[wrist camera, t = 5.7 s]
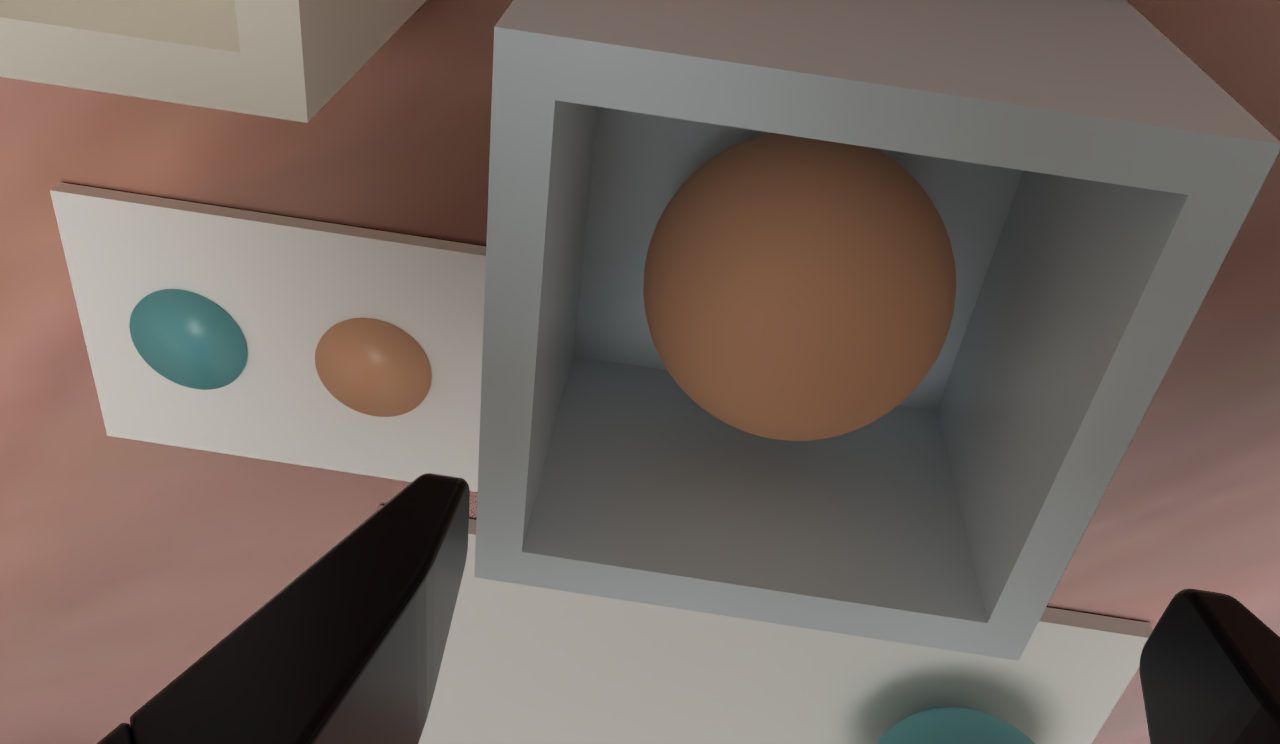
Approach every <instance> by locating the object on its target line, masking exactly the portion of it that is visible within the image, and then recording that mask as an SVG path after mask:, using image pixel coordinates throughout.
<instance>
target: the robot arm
mask: <svg viewBox="0 0 1280 744" xmlns="http://www.w3.org/2000/svg"><path fill="white" fill-rule="evenodd" d="M468 527H469V485H468V483H467V482H466V481H465V480H464V479H463V478H458V477H452V476H445V475H438V474H432V473H426V474H423V475H421V476H419V477H418V478H416V479H415V480H414V481H413V482H412V483H410V484H409V485H408V486H407V487H406V488H404V489H403V490H402V491H401V492H400V493H398V494H397V495H396V496H395V497H394V498H392V499H391V500H390V501H389V502H388V503H386V504H385V505H384V506H383V507H382V508H380V509H379V510H378V511H377V512H376V513H374V514H373V515H372V516H371V517H370V518H368V519H367V520H366V521H365V522H364V523H362V524H361V525H360V526H359V527H358V528H356V529H355V530H354V531H353V532H352V533H350V534H349V535H348V536H347V537H346V538H344V539H343V540H342V541H341V542H339V543H338V544H337V545H336V546H335V547H333V548H332V549H331V550H330V551H329V552H327V553H326V554H325V555H324V556H323V557H321V558H320V559H319V560H318V561H317V562H315V563H314V564H313V565H312V566H311V567H309V568H308V569H307V570H306V571H305V572H303V573H302V574H301V575H300V576H299V577H297V578H296V579H295V580H294V581H293V582H291V583H290V584H289V585H288V586H287V587H285V588H284V589H283V590H282V591H281V592H279V593H278V594H277V595H276V596H275V597H273V598H272V599H271V600H270V601H269V602H267V603H266V604H265V605H264V606H263V607H261V608H260V609H259V610H258V611H257V612H255V613H254V614H253V615H252V616H251V617H249V618H248V619H247V620H246V621H245V622H243V623H242V624H241V625H240V626H238V627H237V628H236V629H235V630H234V631H232V632H231V633H230V634H229V635H228V636H226V637H225V638H224V639H223V640H222V641H220V642H219V643H218V644H217V645H216V646H214V647H213V648H212V649H211V650H210V651H208V652H207V653H206V654H205V655H204V656H202V657H201V658H200V659H199V660H198V661H196V662H195V663H194V664H193V665H192V666H190V667H189V668H188V669H187V670H186V671H184V672H183V673H182V674H181V675H180V676H178V677H177V678H176V679H175V680H174V681H172V682H171V683H170V684H169V685H168V686H166V687H165V688H164V689H163V690H162V691H160V692H159V693H158V694H157V695H156V696H154V697H153V698H152V699H151V700H150V701H148V702H147V703H146V704H145V705H144V706H142V707H141V708H140V709H139V710H137V711H136V712H135V713H134V714H133V715H132V716H131V717H130V725H129V724H127V723H122V724H120V725H119V726H118V727H116V728H115V729H114V730H113V731H112V732H110V733H109V734H108V735H107V736H106V737H104V738H103V739H102V740H101V741H100V742H98V743H97V744H418V743H419V740H420V737H421V734H422V731H423V728H424V725H425V723H426V720H427V716H428V713H429V709H430V705H431V702H432V698H433V695H434V691H435V687H436V683H437V678H438V674H439V670H440V666H441V662H442V658H443V654H444V650H445V646H446V642H447V638H448V634H449V629H450V625H451V621H452V617H453V613H454V609H455V605H456V601H457V597H458V593H459V589H460V584H461V580H462V576H463V572H464V568H465V563H466V557H467V549H468ZM1140 678H1141V685H1142V691H1143V698H1144V704H1145V710H1146V717H1147V723H1148V730H1149V736H1150V742H1151V744H1280V637H1279V636H1278V635H1277V634H1275V633H1274V632H1273V631H1272V630H1271V629H1270V628H1269V627H1267V626H1266V625H1265V624H1264V623H1263V622H1262V621H1261V620H1259V619H1258V618H1257V617H1256V616H1255V615H1254V614H1253V613H1251V612H1250V611H1249V610H1248V609H1247V608H1246V607H1245V606H1243V605H1242V604H1241V603H1240V602H1239V601H1237V600H1236V599H1235V598H1233V597H1231V596H1229V595H1226V594H1222V593H1215V592H1209V591H1202V590H1196V589H1184V590H1182V591H1180V592H1179V593H1177V594H1176V595H1175V596H1174V597H1173V599H1172V600H1171V602H1170V604H1169V605H1168V607H1167V608H1166V610H1165V612H1164V613H1163V615H1162V617H1161V618H1160V620H1159V622H1158V623H1157V625H1156V626H1155V628H1154V630H1153V631H1152V633H1151V635H1150V636H1149V638H1148V640H1147V641H1146V643H1145V645H1144V647H1143V649H1142V653H1141V657H1140ZM130 726H131V727H130Z"/></svg>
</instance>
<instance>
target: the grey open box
mask: <svg viewBox="0 0 1280 744" xmlns="http://www.w3.org/2000/svg"><path fill="white" fill-rule="evenodd" d="M771 133H777V134H784V135H791V136H797V137H804V138H811V139H817V140H824V141H831V142H837V143H844V144H851V145H857V146H864V147H871V148H874V149H876V150H878V151H880V152H882V153H884V154H885V155H887V156H888V157H889V158H891V159H892V160H894V161H895V162H897V163H898V164H899V165H900V166H901V167H902V168H903V169H905V170H906V171H907V172H908V173H909V174H910V175H911V176H912V177H913V178H914V179H915V180H916V181H917V182H918V183H919V184H920V186H921V187H922V188H923V189H924V191H925V192H926V193H927V194H928V196H929V197H930V198H931V200H932V202H933V204H934V206H935V207H936V209H937V211H938V213H939V214H940V216H941V218H942V220H943V222H944V225H945V228H946V230H947V233H948V236H949V238H950V242H951V247H952V252H953V256H954V262H955V267H956V296H955V305H954V314H953V318H952V321H951V325H950V329H949V332H948V335H947V337H946V340H945V342H944V345H943V347H942V349H941V352H940V354H939V356H938V358H937V359H936V361H935V363H934V364H933V366H932V368H931V369H930V371H929V372H928V374H927V375H926V376H925V377H924V379H923V380H922V381H921V382H920V384H919V385H918V386H917V387H916V389H915V390H914V391H913V392H912V393H911V394H910V395H909V396H908V397H907V398H906V399H905V400H904V401H903V402H902V403H900V404H899V405H898V406H896V407H895V408H894V409H892V410H891V411H890V412H888V413H887V414H885V415H884V416H882V417H880V418H878V419H877V420H875V421H873V422H872V423H870V424H868V425H866V426H864V427H861V428H859V429H857V430H855V431H852V432H849V433H845V434H842V435H839V436H835V437H830V438H825V439H819V440H809V441H787V440H776V439H770V438H766V437H761V436H757V435H754V434H751V433H747V432H744V431H742V430H740V429H737V428H735V427H733V426H731V425H728V424H726V423H724V422H723V421H721V420H719V419H718V418H716V417H714V416H712V415H711V414H709V413H708V412H707V411H705V410H704V409H703V408H701V407H700V406H699V405H697V404H696V403H695V402H694V401H693V400H692V399H691V398H690V397H689V396H688V395H687V394H686V393H685V392H684V391H683V390H682V389H681V388H680V386H679V385H678V384H677V383H676V381H675V380H674V379H673V377H672V376H671V375H670V374H669V372H668V370H667V368H666V367H665V365H664V363H663V361H662V360H661V358H660V356H659V354H658V352H657V350H656V347H655V345H654V342H653V340H652V337H651V334H650V330H649V326H648V322H647V318H646V313H645V307H644V295H643V287H644V270H645V262H646V257H647V252H648V248H649V245H650V242H651V239H652V236H653V233H654V231H655V228H656V225H657V223H658V221H659V219H660V217H661V215H662V213H663V211H664V210H665V208H666V206H667V204H668V203H669V202H670V200H671V199H672V198H673V196H674V195H675V194H676V192H677V191H678V190H679V188H680V187H681V186H682V184H683V183H684V182H685V181H686V180H687V179H688V178H689V177H690V176H691V175H692V174H693V173H694V172H695V171H696V170H697V169H699V168H700V167H701V166H703V165H704V164H705V163H706V162H708V161H709V160H710V159H712V158H713V157H715V156H717V155H719V154H720V153H722V152H724V151H725V150H727V149H729V148H730V147H733V146H735V145H737V144H739V143H742V142H744V141H746V140H749V139H752V138H756V137H759V136H762V135H766V134H771ZM1279 152H1280V141H1279V140H1278V139H1277V138H1276V137H1274V136H1273V135H1272V134H1271V133H1270V132H1269V131H1268V130H1267V129H1266V128H1265V127H1264V126H1263V125H1261V124H1260V123H1259V122H1258V121H1257V120H1256V119H1255V118H1254V117H1253V116H1252V115H1251V114H1249V113H1248V112H1247V111H1246V110H1245V109H1244V108H1243V107H1242V106H1241V105H1240V104H1239V103H1237V102H1236V101H1235V100H1234V99H1233V98H1232V97H1231V96H1230V95H1229V94H1228V93H1227V92H1226V91H1224V90H1223V89H1222V88H1221V87H1220V86H1219V85H1218V84H1217V83H1216V82H1215V81H1214V80H1212V79H1211V78H1210V77H1209V76H1208V75H1207V74H1206V73H1205V72H1204V71H1203V70H1202V69H1201V68H1199V67H1198V66H1197V65H1196V64H1195V63H1194V62H1193V61H1192V60H1191V59H1190V58H1189V57H1187V56H1186V55H1185V54H1184V53H1183V52H1182V51H1181V50H1180V49H1179V48H1178V47H1177V46H1175V45H1174V44H1173V43H1172V42H1171V41H1170V40H1169V39H1168V38H1167V37H1166V36H1165V35H1164V34H1162V33H1161V32H1160V31H1159V30H1158V29H1157V28H1156V27H1155V26H1154V25H1153V24H1152V23H1150V22H1149V21H1148V20H1147V19H1146V18H1145V17H1144V16H1143V15H1142V14H1141V13H1140V12H1139V11H1137V10H1136V9H1135V8H1134V7H1133V6H1132V5H1131V4H1130V3H1129V2H1128V1H1127V0H513V1H512V3H511V4H510V5H509V7H508V8H507V10H506V11H505V12H504V14H503V15H502V17H501V18H500V19H499V21H498V22H497V24H496V25H495V26H494V49H493V76H492V104H491V132H490V159H489V187H488V215H487V243H486V270H485V298H484V326H483V353H482V381H481V409H480V437H479V464H478V492H477V520H476V547H475V575H474V577H476V578H482V579H489V580H495V581H502V582H508V583H515V584H521V585H528V586H534V587H541V588H547V589H554V590H560V591H567V592H573V593H580V594H586V595H593V596H599V597H606V598H612V599H619V600H625V601H632V602H638V603H645V604H651V605H658V606H664V607H671V608H677V609H684V610H691V611H697V612H704V613H710V614H717V615H723V616H730V617H736V618H743V619H749V620H756V621H762V622H769V623H775V624H782V625H788V626H795V627H801V628H808V629H814V630H821V631H827V632H834V633H840V634H847V635H853V636H860V637H866V638H873V639H879V640H886V641H892V642H899V643H905V644H912V645H918V646H925V647H931V648H938V649H944V650H951V651H957V652H964V653H970V654H977V655H983V656H990V657H996V658H1003V659H1009V660H1016V661H1019V659H1020V657H1021V655H1022V653H1023V651H1024V649H1025V647H1026V646H1027V644H1028V642H1029V640H1030V638H1031V636H1032V634H1033V632H1034V630H1035V628H1036V626H1037V624H1038V622H1039V620H1040V618H1041V616H1042V614H1043V612H1044V610H1045V608H1046V606H1047V605H1048V603H1049V601H1050V599H1051V597H1052V595H1053V593H1054V591H1055V589H1056V587H1057V585H1058V583H1059V581H1060V579H1061V577H1062V575H1063V573H1064V571H1065V569H1066V567H1067V566H1068V564H1069V562H1070V560H1071V558H1072V556H1073V554H1074V552H1075V550H1076V548H1077V546H1078V544H1079V542H1080V540H1081V538H1082V536H1083V534H1084V532H1085V530H1086V528H1087V526H1088V525H1089V523H1090V521H1091V519H1092V517H1093V515H1094V513H1095V511H1096V509H1097V507H1098V505H1099V503H1100V501H1101V499H1102V497H1103V495H1104V493H1105V491H1106V489H1107V487H1108V486H1109V484H1110V482H1111V480H1112V478H1113V476H1114V474H1115V472H1116V470H1117V468H1118V466H1119V464H1120V462H1121V460H1122V458H1123V456H1124V454H1125V452H1126V450H1127V448H1128V446H1129V445H1130V443H1131V441H1132V439H1133V437H1134V435H1135V433H1136V431H1137V429H1138V427H1139V425H1140V423H1141V421H1142V419H1143V417H1144V415H1145V413H1146V411H1147V409H1148V407H1149V406H1150V404H1151V402H1152V400H1153V398H1154V396H1155V394H1156V392H1157V390H1158V388H1159V386H1160V384H1161V382H1162V380H1163V378H1164V376H1165V374H1166V372H1167V370H1168V368H1169V366H1170V365H1171V363H1172V361H1173V359H1174V357H1175V355H1176V353H1177V351H1178V349H1179V347H1180V345H1181V343H1182V341H1183V339H1184V337H1185V335H1186V333H1187V331H1188V329H1189V327H1190V326H1191V324H1192V322H1193V320H1194V318H1195V316H1196V314H1197V312H1198V310H1199V308H1200V306H1201V304H1202V302H1203V300H1204V298H1205V296H1206V294H1207V292H1208V290H1209V288H1210V286H1211V285H1212V283H1213V281H1214V279H1215V277H1216V275H1217V273H1218V271H1219V269H1220V267H1221V265H1222V263H1223V261H1224V259H1225V257H1226V255H1227V253H1228V251H1229V249H1230V247H1231V246H1232V244H1233V242H1234V240H1235V238H1236V236H1237V234H1238V232H1239V230H1240V228H1241V226H1242V224H1243V222H1244V220H1245V218H1246V216H1247V214H1248V212H1249V210H1250V208H1251V206H1252V205H1253V203H1254V201H1255V199H1256V197H1257V195H1258V193H1259V191H1260V189H1261V187H1262V185H1263V183H1264V181H1265V179H1266V177H1267V175H1268V173H1269V171H1270V169H1271V167H1272V166H1273V164H1274V162H1275V160H1276V158H1277V156H1278V154H1279Z"/></svg>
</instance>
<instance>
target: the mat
mask: <svg viewBox="0 0 1280 744" xmlns="http://www.w3.org/2000/svg"><path fill="white" fill-rule="evenodd" d="M382 507H383V505H379V507H378V509H377V511H378V510H379V509H380V508H382ZM475 547H476V520H474V519H469V527H468V549H467V557H466V563H465V568H464V572H463V576H462V580H461V584H460V589H459V593H458V597H457V601H456V605H455V609H454V613H453V617H452V621H451V625H450V629H449V634H448V638H447V642H446V646H445V650H444V654H443V658H442V662H441V666H440V670H439V674H438V678H437V683H436V687H435V691H434V695H433V698H432V702H431V705H430V709H429V713H428V716H427V720H426V723H425V725H424V728H423V731H422V734H421V737H420V740H419V743H418V744H876V743H877V742H878V740H879V739H880V738H881V737H882V736H883V735H884V734H885V733H886V732H887V731H888V730H889V729H891V728H892V727H893V726H894V725H896V724H897V723H898V722H900V721H902V720H904V719H905V718H907V717H909V716H911V715H914V714H916V713H919V712H922V711H925V710H929V709H934V708H941V707H961V708H968V709H973V710H977V711H981V712H985V713H988V714H991V715H993V716H995V717H998V718H1000V719H1002V720H1003V721H1005V722H1007V723H1009V724H1011V725H1013V726H1014V727H1015V728H1017V729H1018V730H1019V731H1021V732H1022V733H1023V734H1025V735H1026V736H1027V737H1029V738H1030V739H1031V740H1032V741H1033V742H1034V743H1035V744H1092V742H1093V741H1094V739H1095V737H1096V736H1097V734H1098V732H1099V731H1100V729H1101V728H1102V726H1103V724H1104V723H1105V721H1106V720H1107V718H1108V716H1109V715H1110V713H1111V712H1112V710H1113V708H1114V707H1115V705H1116V703H1117V702H1118V700H1119V699H1120V697H1121V695H1122V694H1123V692H1124V691H1125V689H1126V687H1127V686H1128V684H1129V683H1130V681H1131V679H1132V678H1133V676H1134V674H1135V673H1136V671H1137V670H1138V668H1139V666H1140V657H1141V653H1142V649H1143V647H1144V645H1145V643H1146V641H1147V640H1148V638H1149V636H1150V635H1151V633H1152V631H1153V630H1152V627H1151V625H1150V623H1147V622H1140V621H1134V620H1127V619H1121V618H1114V617H1108V616H1101V615H1095V614H1088V613H1081V612H1075V611H1068V610H1062V609H1055V608H1049V607H1046V608H1045V610H1044V612H1043V614H1042V616H1041V618H1040V620H1039V622H1038V624H1037V626H1036V628H1035V630H1034V632H1033V634H1032V636H1031V638H1030V640H1029V642H1028V644H1027V646H1026V647H1025V649H1024V651H1023V653H1022V655H1021V657H1020V659H1019V661H1016V660H1009V659H1003V658H996V657H990V656H983V655H977V654H970V653H964V652H957V651H951V650H944V649H938V648H931V647H925V646H918V645H912V644H905V643H899V642H892V641H886V640H879V639H873V638H866V637H860V636H853V635H847V634H840V633H834V632H827V631H821V630H814V629H808V628H801V627H795V626H788V625H782V624H775V623H769V622H762V621H756V620H749V619H743V618H736V617H730V616H723V615H717V614H710V613H704V612H697V611H691V610H684V609H677V608H671V607H664V606H658V605H651V604H645V603H638V602H632V601H625V600H619V599H612V598H606V597H599V596H593V595H586V594H580V593H573V592H567V591H560V590H554V589H547V588H541V587H534V586H528V585H521V584H515V583H508V582H502V581H495V580H489V579H482V578H476V577H474V575H475Z"/></svg>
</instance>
